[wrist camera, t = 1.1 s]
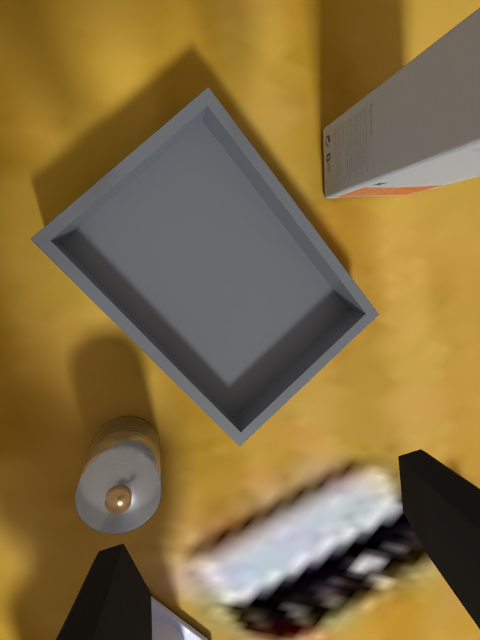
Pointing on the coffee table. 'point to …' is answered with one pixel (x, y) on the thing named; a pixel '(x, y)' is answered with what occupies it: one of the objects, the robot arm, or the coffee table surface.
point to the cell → (120, 477)
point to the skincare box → (412, 124)
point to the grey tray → (210, 268)
